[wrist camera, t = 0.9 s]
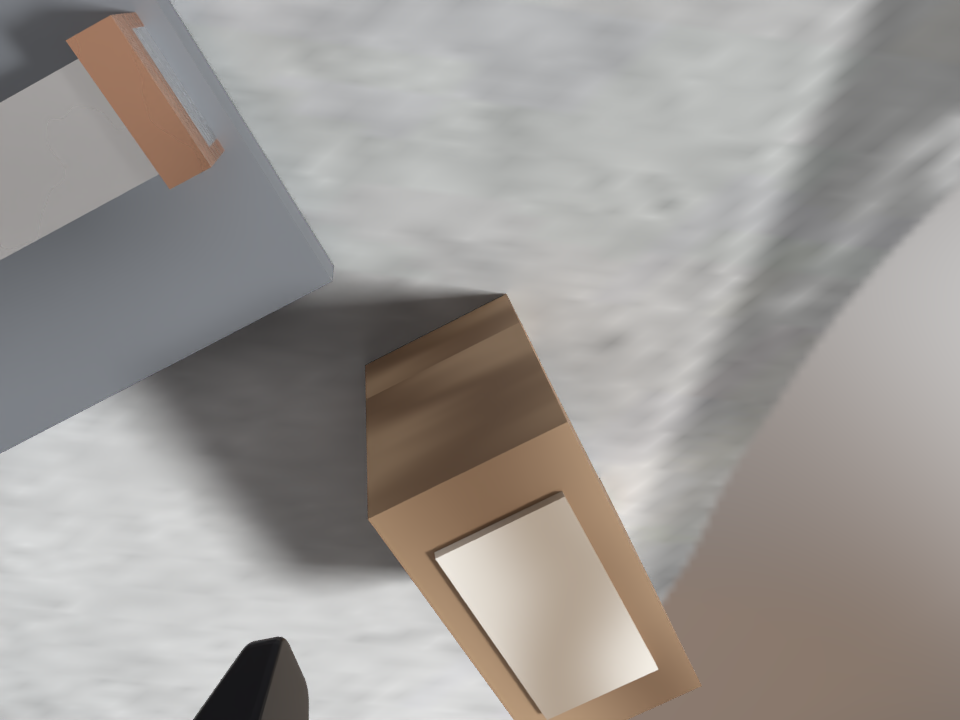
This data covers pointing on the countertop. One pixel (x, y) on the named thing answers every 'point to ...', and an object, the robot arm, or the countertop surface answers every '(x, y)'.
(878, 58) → the countertop surface
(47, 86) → the copper ended bar
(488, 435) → the rail module
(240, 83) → the countertop surface
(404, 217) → the countertop surface
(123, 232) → the mounting plate
